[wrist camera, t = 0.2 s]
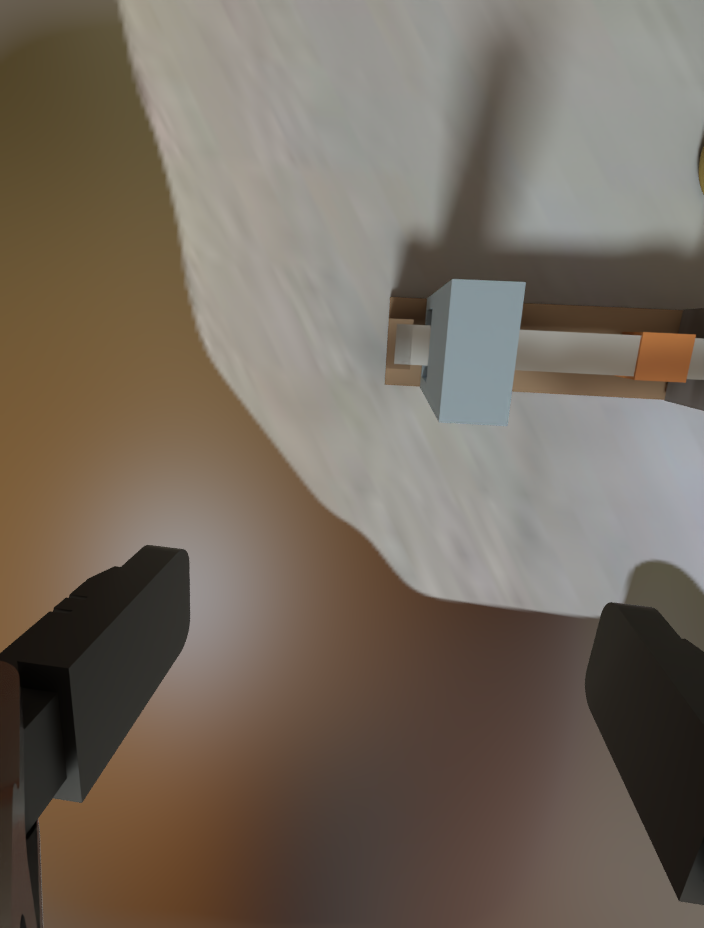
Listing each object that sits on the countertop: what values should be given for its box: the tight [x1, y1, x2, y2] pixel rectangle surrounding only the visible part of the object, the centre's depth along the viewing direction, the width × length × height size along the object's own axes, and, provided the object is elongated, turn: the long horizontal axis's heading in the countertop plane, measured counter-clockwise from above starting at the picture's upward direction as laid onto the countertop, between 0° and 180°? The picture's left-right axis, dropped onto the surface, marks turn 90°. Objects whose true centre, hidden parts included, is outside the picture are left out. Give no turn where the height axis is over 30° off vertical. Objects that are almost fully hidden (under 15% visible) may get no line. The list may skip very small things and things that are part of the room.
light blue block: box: [420, 279, 526, 426], centre depth 29 cm, size 6×3×14 cm, turn 177°
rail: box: [385, 297, 704, 411], centre depth 32 cm, size 6×24×7 cm, turn 88°
